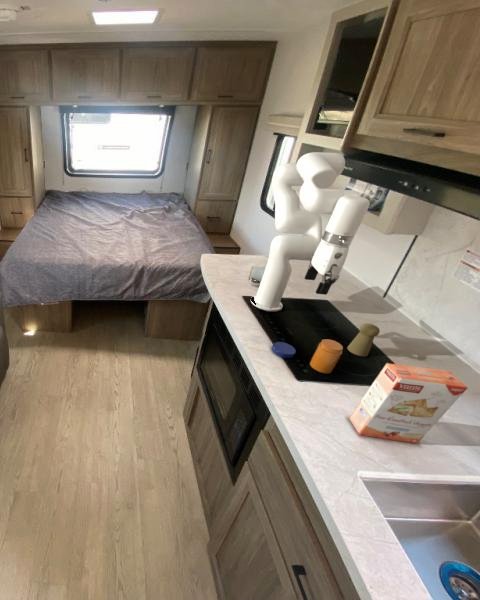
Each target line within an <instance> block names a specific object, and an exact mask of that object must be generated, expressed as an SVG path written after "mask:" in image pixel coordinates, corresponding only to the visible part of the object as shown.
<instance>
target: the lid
mask: <svg viewBox="0 0 480 600" xmlns="http://www.w3.org/2000/svg"><path fill="white" fill-rule="evenodd" d="M271 351H272V352H273V353H274V354H275V355H276V356H277V357H280V358H282V359H293V358H294V357H295V354H296V352H297V351H296V349H295V347H294V346H293V345H291V344H289V343H286V342H283V341H276V342H274V343H273V345H272V347H271Z"/></svg>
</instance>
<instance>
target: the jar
mask: <svg viewBox="0 0 480 600" xmlns="http://www.w3.org/2000/svg"><path fill="white" fill-rule="evenodd" d="M343 349H344V346H343V345H342V344H341V343H340V342H337V341H336V340H333V339H330V338H329V339H328V338H327V339H326V338H325V339H322V340H321V342H319V343H318V345H317V347H316V349H315V351H314V353H313V355H312V357H311V359H310V361H309V366H310V368H312V369H313V370H315V371H317V372H318V373H322V374H331V373H332V372H333V370H334V369H335V367H336V365H337V363H338V362H339V360H340V358H341V356H342V354H343Z"/></svg>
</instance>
